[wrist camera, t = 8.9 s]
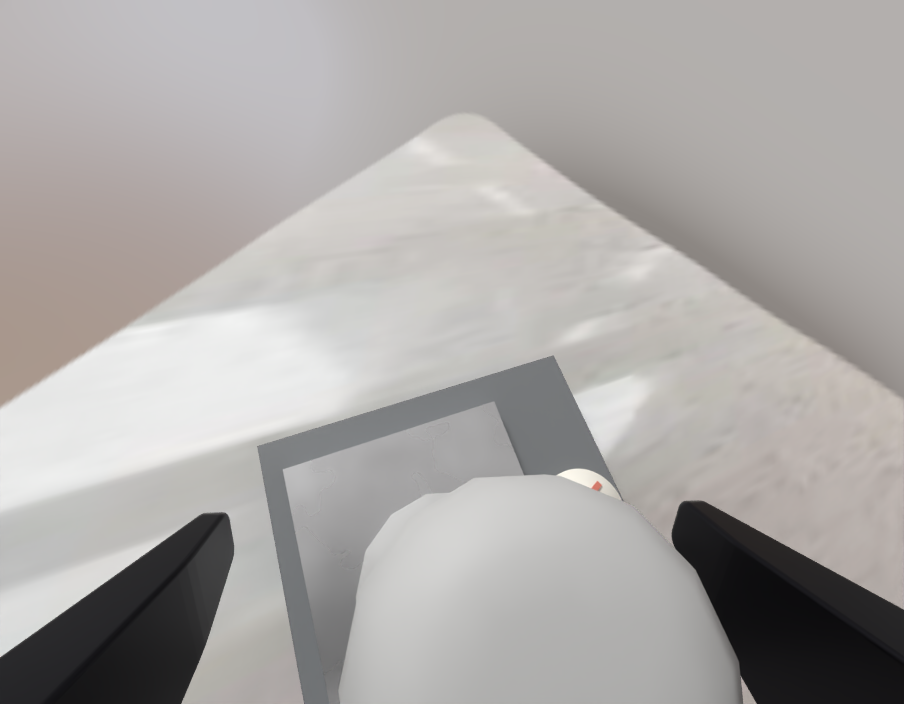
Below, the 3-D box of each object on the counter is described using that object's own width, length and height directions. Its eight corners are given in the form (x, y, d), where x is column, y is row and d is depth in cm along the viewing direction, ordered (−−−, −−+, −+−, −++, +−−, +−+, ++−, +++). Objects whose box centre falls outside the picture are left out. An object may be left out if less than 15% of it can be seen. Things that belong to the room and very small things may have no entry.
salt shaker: (541, 534, 17) (884, 516, 5) (492, 708, 14) (940, 1527, 2) (403, 475, 17) (405, 321, 5) (333, 635, 15) (39, 1036, 3)
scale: (672, 665, 18) (717, 686, 16) (348, 836, 15) (335, 898, 12) (539, 373, 23) (556, 352, 21) (274, 457, 20) (254, 444, 17)
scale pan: (602, 685, 15) (612, 692, 15) (357, 812, 13) (354, 828, 13) (490, 406, 19) (494, 401, 19) (287, 472, 17) (282, 469, 17)
